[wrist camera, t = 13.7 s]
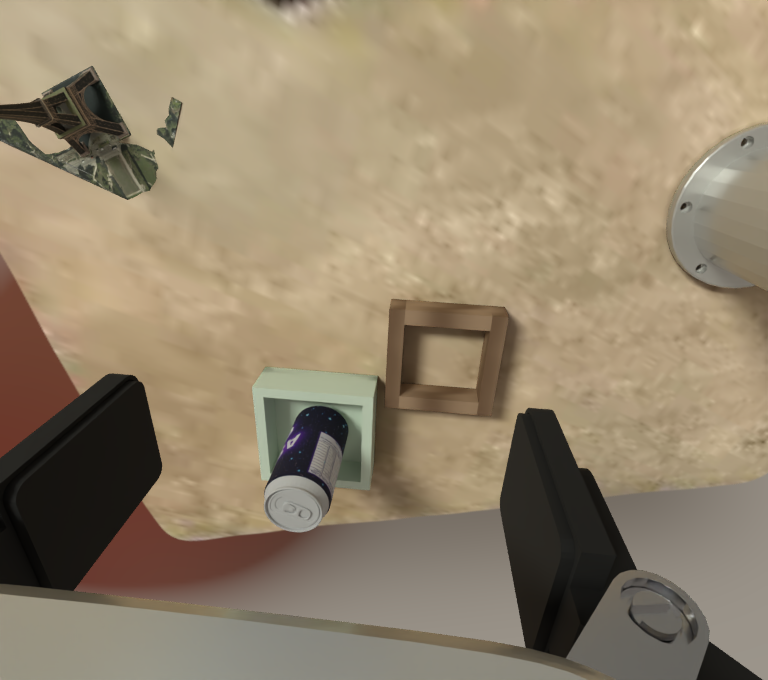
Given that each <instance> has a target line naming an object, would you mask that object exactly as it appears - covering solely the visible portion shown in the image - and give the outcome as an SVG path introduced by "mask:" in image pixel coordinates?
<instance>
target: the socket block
mask: <svg viewBox="0 0 768 680" xmlns="http://www.w3.org/2000/svg"><path fill="white" fill-rule="evenodd" d="M508 320H509V317H508V314H507V312H506V310H505V307H496V306H482V305H468V304H454V303H440V302H426V301H412V300H397V299H391V304H390V309H389V329H388V348H387V368H386V387H385V407H389V408H400V409H412V410H424V411H436V412H447V413H459V414H471V415H482V416H491V415H492V409H493V403H494V398H495V392H496V387H497V381H498V376H499V370H500V365H501V359H502V353H503V348H504V342H505V337H506V331H507V326H508ZM405 325H414V326H427V327H441V328H454V329H468V330H481V331H485V335H484V342H483V348H482V354H481V361H480V367H479V374H478V380H477V386H476V389H469V388H457V387H445V386H433V385H421V384H408V383H401V374H402V359H403V345H404V330H405Z"/></svg>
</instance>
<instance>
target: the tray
mask: <svg viewBox="0 0 768 680" xmlns="http://www.w3.org/2000/svg"><path fill="white" fill-rule="evenodd" d="M377 379H378V376H373V375H361V374H348V373H336V372H324V371H311V370H299V369H287V368H275V367H265V369H264V370H263V372H262V373H261V375H260V376H259V378H258V379H257V381H256V382H255V384H254V385H253V387H252V391H253V401H254V411H255V420H256V430H257V440H258V449H259V459H260V469H261V479H262V480H267V481H269V478H270V476H271V474H272V472H273V469H274V467H275V465H276V463H277V460H278V458H279V456H280V453H281V451H282V449H283V447H284V444H285V442H286V440H287V438H288V435H289V433H290V431H291V429H292V426H293V424H294V422H295V420H296V417H297V416H298V414H299V413H300V412H301V411H302V410H304V409H306V408H308V407H311V406H326V407H329V408H332V409H334V410H336V411H337V412H339V413H340V414H341V415H342V416H343V417H344V419H345V420H346V422H347V424H348V429H349V432H348V437H347V441H346V445H345V449H344V453H343V457H342V461H341V465H340V469H339V473H338V477H337V481H336V485H335V487H340V488H350V489H360V490H370V486H371V480H372V473H373V467H374V451H375V427H376V403H377Z"/></svg>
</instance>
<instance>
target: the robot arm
mask: <svg viewBox="0 0 768 680" xmlns="http://www.w3.org/2000/svg"><path fill="white" fill-rule="evenodd" d="M742 140H743V143H742V144H741V142H742ZM682 204H684V205H683V207H682V208H681V209H680V207H681V205H682ZM667 240H668V243H669V247H670V251H671V253H672V255H673V256H674V258H675V260H676V262H677V263H678V264H679V265H680V266H681V267H682V268H683V269H684V271H686V272H687V273H689V274H690V275H692V276H693V277H695V278H696V279H698V280H700V281H702V282H704V283H706V284H709V285H713V286H717V287H721V288H735V289H737V288H746V287H753V286H758V287H760V288H762V289H764V290H766V291H768V123H763V124H758V125H755V126H752V127H749V128H746V129H743V130H741V131H739V132H737V133H735V134H733V135H731V136H729V137H727V138H725V139H724V140H722V141H721V142H720V143H718V144H717V145H715V146H714V147H712V148H711V149H710V150H708V151H707V152H706V153H705V154H704V155H703V156H702V157H701V158H700V159H699V160H698V161H697V162H696V163H695V164H694V165H693V166H692V168H691V169H690V170H689V171H688V173H687V174H686V175H685V177H684V178H683V180H682V181H681V183H680V185H679V187H678V188H677V190H676V192H675V194H674V197H673V199H672V202H671V205H670V208H669V212H668V218H667ZM697 266H698V267H697ZM696 267H697V268H696ZM161 471H162V462H161V457H160V453H159V449H158V444H157V440H156V436H155V432H154V427H153V423H152V419H151V414H150V410H149V406H148V401H147V397H146V393H145V388H144V385H143V384H142V382H139V381H138V379H137V378H136V377H135V376H133V375H123V374H108V375H106V376H104V377H103V378H102V379H101V380H99V381H98V382H97V383H95V384H94V385H93V386H92V387H90V388H89V389H88V390H87V391H85V392H84V393H83V394H81V395H80V396H79V397H78V398H76V399H75V400H74V401H73V402H71V403H70V404H69V405H68V406H66V407H65V408H64V409H62V410H61V411H60V412H58V413H57V414H56V415H55V416H53V417H52V418H51V419H50V420H48V421H47V422H46V423H44V424H43V425H42V426H41V427H40V428H38V429H37V430H36V431H34V432H33V433H32V434H30V435H29V436H28V437H27V438H25V439H24V440H23V441H22V442H20V443H19V444H18V445H17V446H15V447H14V448H13V449H12V450H10V451H9V452H8V453H6V454H5V455H4V456H2V457H1V458H0V680H762V679H761V678H759V677H758V676H757V675H755V674H754V673H752V672H751V671H749V670H748V669H747V668H745V667H744V666H743V665H741V664H740V663H739V662H737V661H736V660H734V659H733V658H732V657H730V656H729V655H727V654H726V653H725V652H723V651H722V650H720V649H719V648H718V647H716V646H715V645H714V644H712V643H711V642H709V627H708V625H707V621H706V618H705V616H704V615H703V613H702V611H701V610H700V609H699V607H698V605H697V604H696V603H695V602H694V601H693V600H692V599H691V598H690V596H689V595H688V594H686V592H685V591H683V590H682V589H681V588H679V587H678V586H676V585H675V584H674V583H672V582H671V581H669V580H667V579H665V578H663V577H661V576H659V575H657V574H654V573H650V572H647V571H643V570H637V569H636V567H635V564H634V562H633V560H632V558H631V556H630V554H629V552H628V549H627V547H626V545H625V543H624V541H623V539H622V537H621V534H620V533H619V530H618V528H617V526H616V524H615V522H614V519H613V517H612V515H611V513H610V511H609V509H608V506H607V504H606V502H605V500H604V498H603V496H602V494H601V491H600V489H599V487H598V485H597V483H596V481H595V479H594V476H593V475H592V473H591V472H590V471H589V470H588V469H585V468H578V466H577V464H576V461H575V459H574V457H573V454H572V452H571V450H570V448H569V445H568V443H567V441H566V438H565V436H564V434H563V431H562V429H561V427H560V424H559V422H558V420H557V418H556V415H555V413H554V411H553V410H548V409H536V408H528V409H527V410H526V412H525V414H523V413H519V414H518V416H517V419H516V424H515V429H514V434H513V439H512V444H511V448H510V453H509V458H508V463H507V468H506V473H505V477H504V482H503V487H502V492H501V497H500V511H501V517H502V522H503V528H504V533H505V538H506V544H507V549H508V554H509V560H510V565H511V571H512V576H513V581H514V587H515V592H516V598H517V603H518V608H519V614H520V619H521V625H522V630H523V635H524V641H525V646H526V648H523V647H518V646H513V645H507V644H502V643H497V642H491V641H485V640H478V639H471V638H463V637H457V636H449V635H442V634H435V633H428V632H420V631H413V630H405V629H397V628H388V627H380V626H373V625H364V624H356V623H348V622H340V621H331V620H323V619H314V618H306V617H298V616H290V615H281V614H272V613H263V612H255V611H247V610H238V609H229V608H220V607H212V606H203V605H194V604H186V603H177V602H167V601H159V600H151V599H141V598H132V597H123V596H114V595H104V594H95V593H86V592H77V591H74V589H75V588H76V587H77V585H78V584H79V583H80V581H81V580H82V579H83V577H84V576H85V575H86V573H87V572H88V571H89V570H90V568H91V567H92V566H93V564H94V563H95V562H96V560H97V559H98V558H99V556H100V555H101V554H102V552H103V551H104V549H105V548H106V547H107V546H108V544H109V543H110V542H111V540H112V539H113V538H114V536H115V535H116V534H117V532H118V531H119V530H120V529H121V527H122V526H123V525H124V523H125V522H126V521H127V519H128V518H129V516H130V515H131V514H132V513H133V511H134V510H135V509H136V507H137V506H138V505H139V503H140V502H141V501H142V500H143V498H144V497H145V496H146V494H147V493H148V492H149V490H150V489H151V488H152V486H153V485H154V484H155V482H156V481H157V480H158V478H159V476H160V474H161Z"/></svg>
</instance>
